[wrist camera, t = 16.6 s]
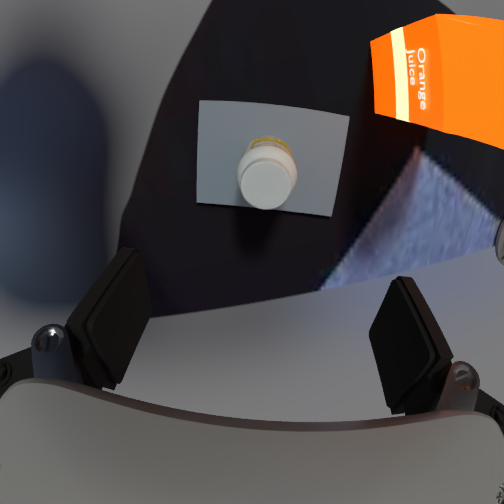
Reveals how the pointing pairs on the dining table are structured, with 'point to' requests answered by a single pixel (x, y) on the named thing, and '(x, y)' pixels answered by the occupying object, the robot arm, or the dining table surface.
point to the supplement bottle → (266, 172)
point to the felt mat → (278, 125)
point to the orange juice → (444, 75)
